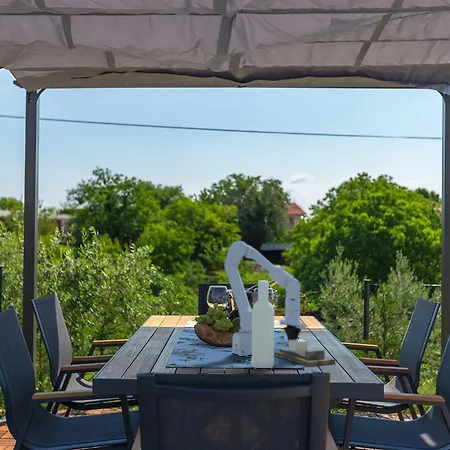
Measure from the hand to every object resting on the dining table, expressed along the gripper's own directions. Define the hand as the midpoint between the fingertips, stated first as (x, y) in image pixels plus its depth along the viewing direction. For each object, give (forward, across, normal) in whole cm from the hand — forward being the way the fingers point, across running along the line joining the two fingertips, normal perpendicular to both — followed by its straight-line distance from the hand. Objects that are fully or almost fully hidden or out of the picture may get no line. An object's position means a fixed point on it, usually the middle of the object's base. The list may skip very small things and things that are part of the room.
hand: (292, 345), depth 227 cm
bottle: (+4, -13, +21) cm, 25 cm away
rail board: (+4, -8, 0) cm, 9 cm away
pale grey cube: (+2, -4, 0) cm, 5 cm away
